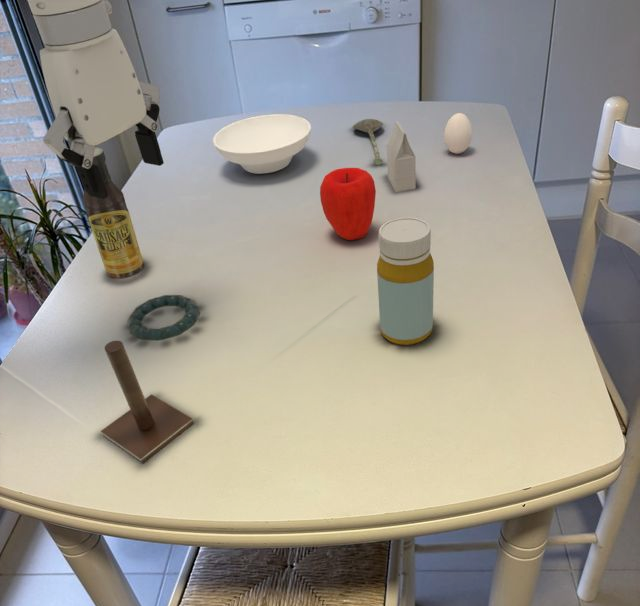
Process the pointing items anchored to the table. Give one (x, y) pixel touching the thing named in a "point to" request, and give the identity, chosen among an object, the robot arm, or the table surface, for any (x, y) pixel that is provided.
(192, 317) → the ring
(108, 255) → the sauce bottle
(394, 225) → the bottle
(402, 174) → the milk carton
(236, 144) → the bowl
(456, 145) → the egg
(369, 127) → the soupspoon
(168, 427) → the peg stand
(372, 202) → the apple
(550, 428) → the table surface
